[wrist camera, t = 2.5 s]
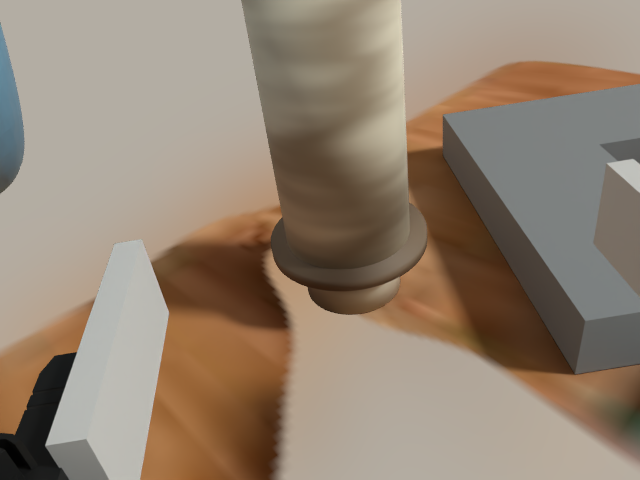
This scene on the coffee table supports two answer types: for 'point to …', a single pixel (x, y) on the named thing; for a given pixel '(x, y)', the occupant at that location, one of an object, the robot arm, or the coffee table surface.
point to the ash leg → (337, 146)
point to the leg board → (555, 210)
